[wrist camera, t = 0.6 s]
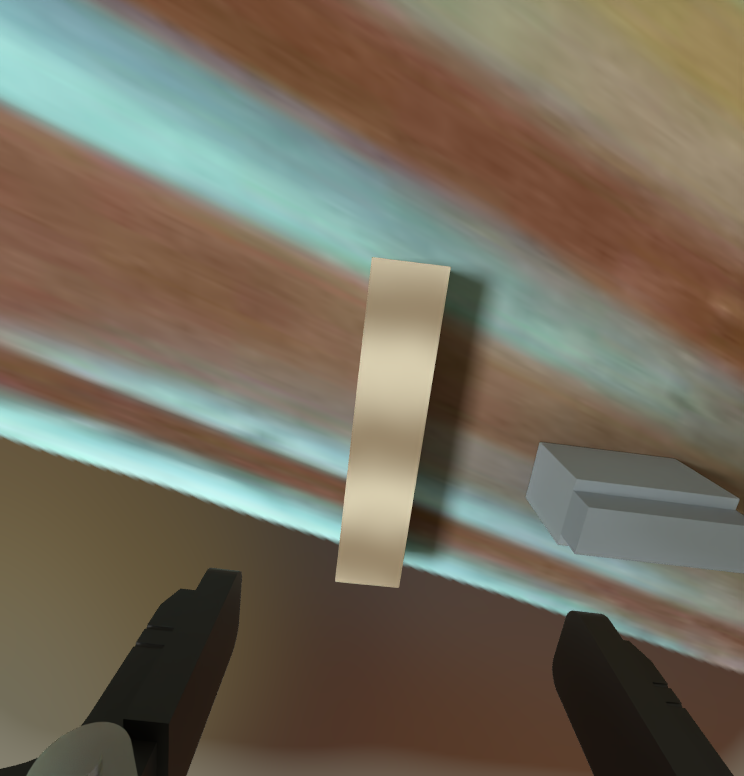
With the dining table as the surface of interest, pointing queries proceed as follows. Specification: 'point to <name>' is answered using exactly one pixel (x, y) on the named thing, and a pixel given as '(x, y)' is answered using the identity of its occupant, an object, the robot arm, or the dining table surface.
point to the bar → (389, 417)
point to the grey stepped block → (635, 508)
